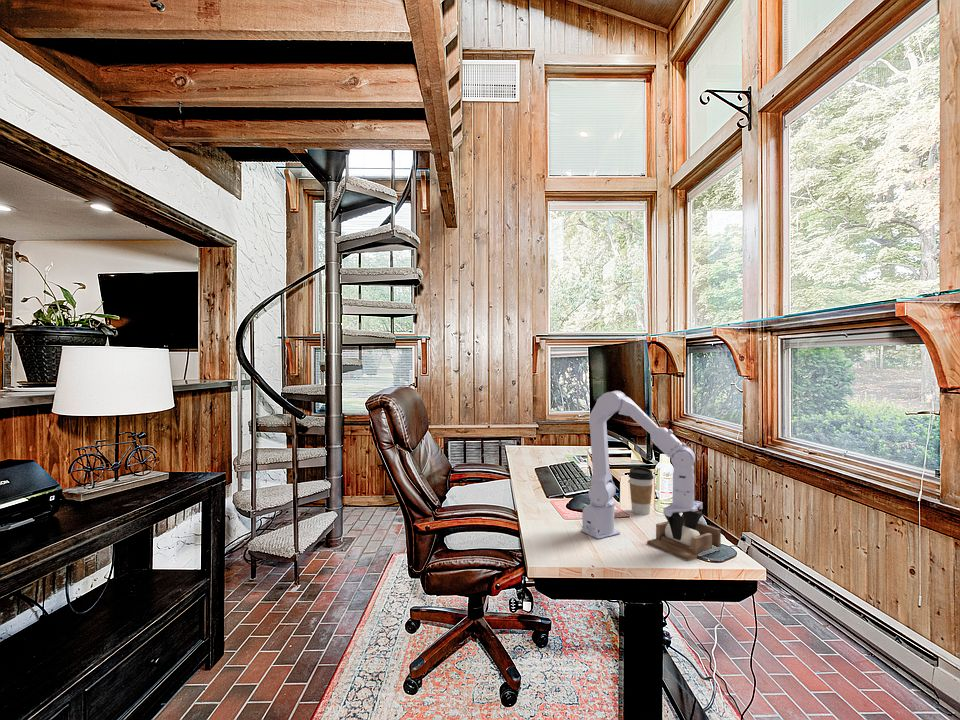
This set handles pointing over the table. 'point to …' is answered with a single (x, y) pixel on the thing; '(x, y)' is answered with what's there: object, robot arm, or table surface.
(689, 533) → the roll
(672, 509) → the robot arm
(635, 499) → the coffee cup
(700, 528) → the holder
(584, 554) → the table surface
